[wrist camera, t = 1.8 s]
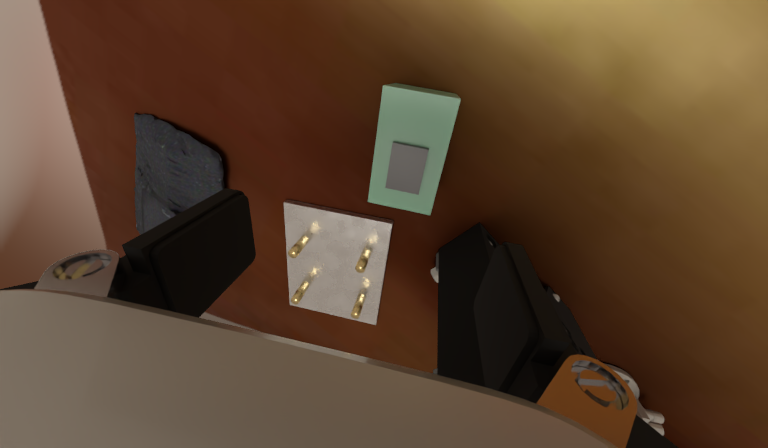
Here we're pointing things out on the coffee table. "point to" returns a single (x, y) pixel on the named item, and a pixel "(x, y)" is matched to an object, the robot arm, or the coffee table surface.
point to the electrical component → (456, 306)
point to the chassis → (336, 260)
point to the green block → (411, 146)
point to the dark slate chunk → (171, 172)
